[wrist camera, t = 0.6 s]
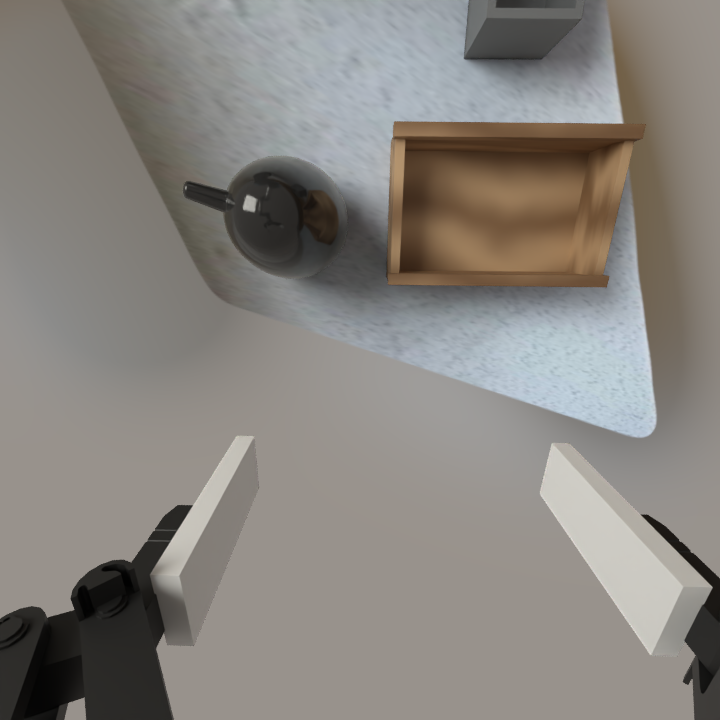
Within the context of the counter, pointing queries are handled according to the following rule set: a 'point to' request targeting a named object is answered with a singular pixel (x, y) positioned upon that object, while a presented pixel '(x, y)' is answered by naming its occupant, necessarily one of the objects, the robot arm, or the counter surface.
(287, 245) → the pump dispenser
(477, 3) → the box
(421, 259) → the large crate
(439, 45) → the counter surface
